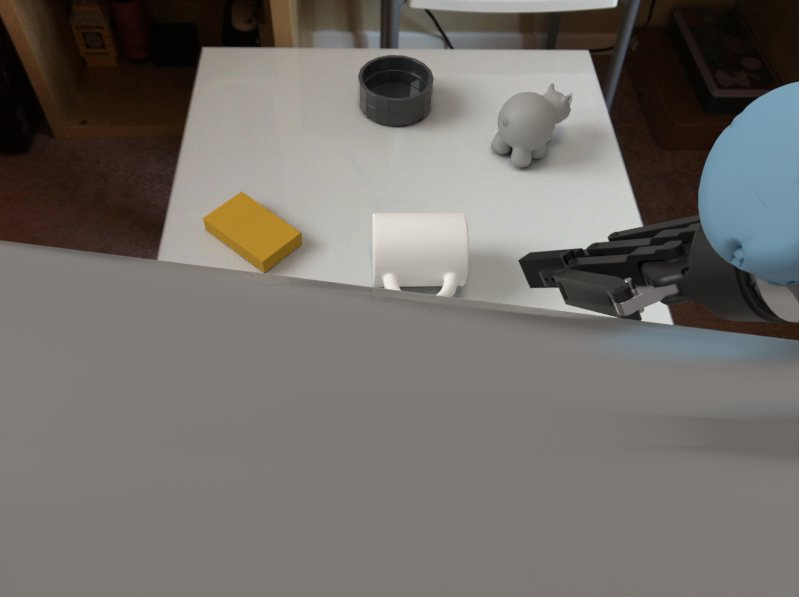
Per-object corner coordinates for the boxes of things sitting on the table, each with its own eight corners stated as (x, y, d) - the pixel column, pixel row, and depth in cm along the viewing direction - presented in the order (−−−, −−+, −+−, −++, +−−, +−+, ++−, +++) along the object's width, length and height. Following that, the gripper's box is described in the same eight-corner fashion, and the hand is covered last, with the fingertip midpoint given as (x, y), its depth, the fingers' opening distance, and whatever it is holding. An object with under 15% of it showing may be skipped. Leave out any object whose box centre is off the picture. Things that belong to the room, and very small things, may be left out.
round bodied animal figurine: (584, 142, 99) (600, 89, 92) (518, 178, 94) (530, 124, 87) (546, 114, 102) (559, 60, 95) (481, 147, 97) (489, 93, 91)
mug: (371, 247, 86) (372, 197, 79) (457, 246, 86) (464, 197, 80) (373, 331, 78) (374, 284, 72) (467, 330, 79) (475, 283, 73)
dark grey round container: (399, 138, 98) (400, 110, 94) (343, 105, 102) (342, 77, 98) (445, 103, 103) (448, 76, 99) (390, 73, 107) (391, 46, 103)
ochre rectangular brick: (264, 273, 83) (262, 261, 81) (205, 229, 86) (202, 217, 85) (302, 244, 86) (301, 232, 84) (243, 203, 89) (241, 190, 88)
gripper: (741, 372, 41) (492, 346, 62) (862, 262, 46) (596, 272, 67) (696, 252, 39) (456, 267, 60) (827, 152, 44) (565, 198, 65)
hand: (530, 270), depth 63 cm, fingers closed
